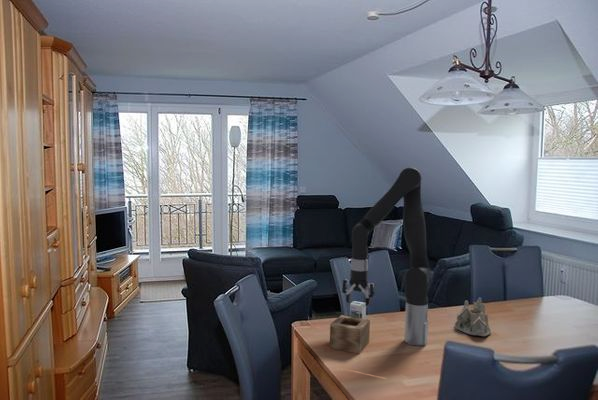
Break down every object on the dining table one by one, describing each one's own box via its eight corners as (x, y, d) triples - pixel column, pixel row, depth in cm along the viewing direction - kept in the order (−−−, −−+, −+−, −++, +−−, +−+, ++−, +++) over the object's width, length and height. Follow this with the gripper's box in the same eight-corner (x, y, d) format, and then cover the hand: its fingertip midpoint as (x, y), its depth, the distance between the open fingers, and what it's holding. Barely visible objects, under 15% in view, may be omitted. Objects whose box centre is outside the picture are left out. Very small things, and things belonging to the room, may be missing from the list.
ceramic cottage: (456, 323, 219) (458, 292, 218) (493, 329, 211) (494, 298, 210) (449, 333, 206) (451, 301, 205) (488, 340, 197) (489, 307, 196)
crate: (369, 342, 193) (369, 319, 192) (359, 353, 181) (360, 329, 180) (340, 337, 198) (341, 315, 198) (329, 347, 187) (330, 324, 186)
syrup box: (348, 335, 201) (349, 303, 200) (353, 331, 206) (354, 300, 205) (361, 337, 198) (361, 305, 197) (365, 333, 203) (366, 302, 202)
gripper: (377, 268, 200) (375, 304, 201) (346, 264, 206) (345, 299, 208) (372, 272, 193) (370, 309, 195) (341, 268, 199) (339, 303, 201)
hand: (357, 304), depth 201 cm, fingers open, 8 cm apart
